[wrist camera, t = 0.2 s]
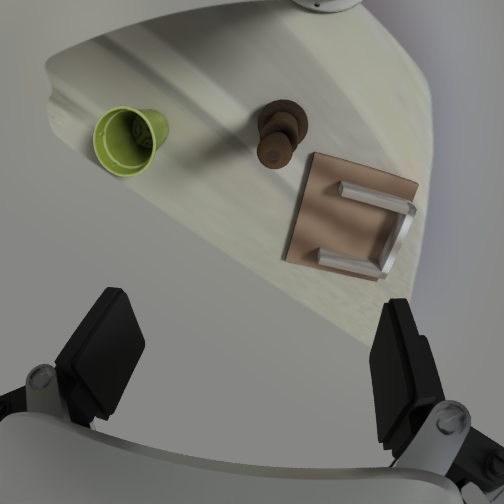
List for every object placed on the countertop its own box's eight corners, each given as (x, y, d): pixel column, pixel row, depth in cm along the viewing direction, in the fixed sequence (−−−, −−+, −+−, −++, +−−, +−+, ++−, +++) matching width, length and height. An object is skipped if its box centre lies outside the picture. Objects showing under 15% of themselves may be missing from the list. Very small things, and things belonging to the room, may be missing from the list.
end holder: (314, 151, 41) (316, 159, 38) (416, 182, 41) (425, 192, 37) (286, 257, 51) (284, 272, 48) (375, 278, 51) (379, 293, 47)
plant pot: (178, 96, 39) (152, 102, 32) (181, 157, 44) (158, 177, 37) (122, 101, 40) (89, 111, 33) (127, 158, 45) (98, 177, 38)
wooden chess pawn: (303, 149, 41) (305, 199, 26) (256, 142, 42) (230, 187, 27) (311, 103, 38) (319, 123, 23) (262, 96, 38) (237, 111, 23)
